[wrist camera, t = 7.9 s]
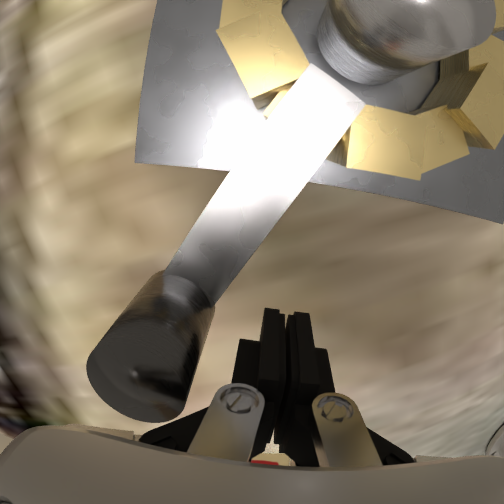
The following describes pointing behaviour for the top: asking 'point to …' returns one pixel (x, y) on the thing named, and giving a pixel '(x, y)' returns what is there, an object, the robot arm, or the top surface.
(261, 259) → the top surface
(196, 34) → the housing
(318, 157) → the tan ring with lever
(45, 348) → the top surface
